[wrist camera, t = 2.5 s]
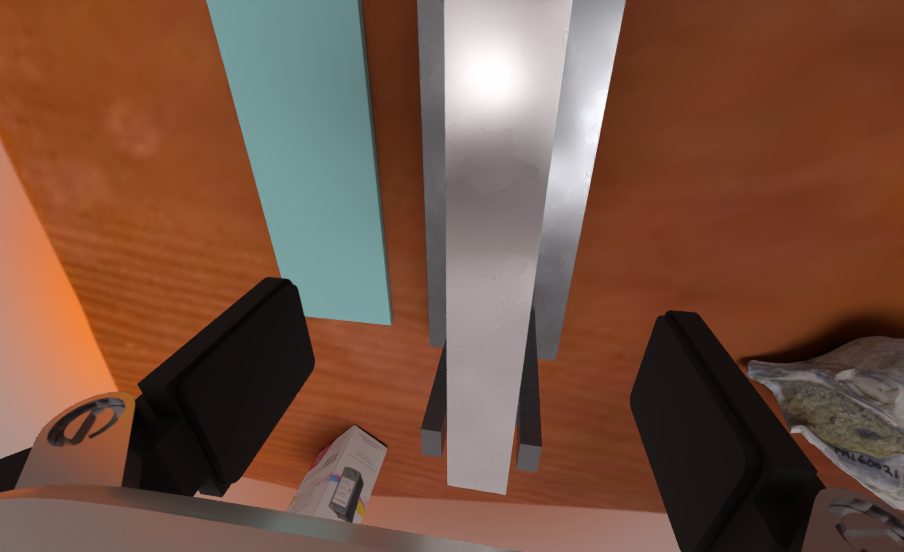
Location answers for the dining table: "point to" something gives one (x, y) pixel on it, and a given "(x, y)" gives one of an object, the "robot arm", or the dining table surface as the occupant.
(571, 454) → the dining table surface
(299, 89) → the mat
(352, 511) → the ink box
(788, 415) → the seashell
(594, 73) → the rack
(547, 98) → the rail
